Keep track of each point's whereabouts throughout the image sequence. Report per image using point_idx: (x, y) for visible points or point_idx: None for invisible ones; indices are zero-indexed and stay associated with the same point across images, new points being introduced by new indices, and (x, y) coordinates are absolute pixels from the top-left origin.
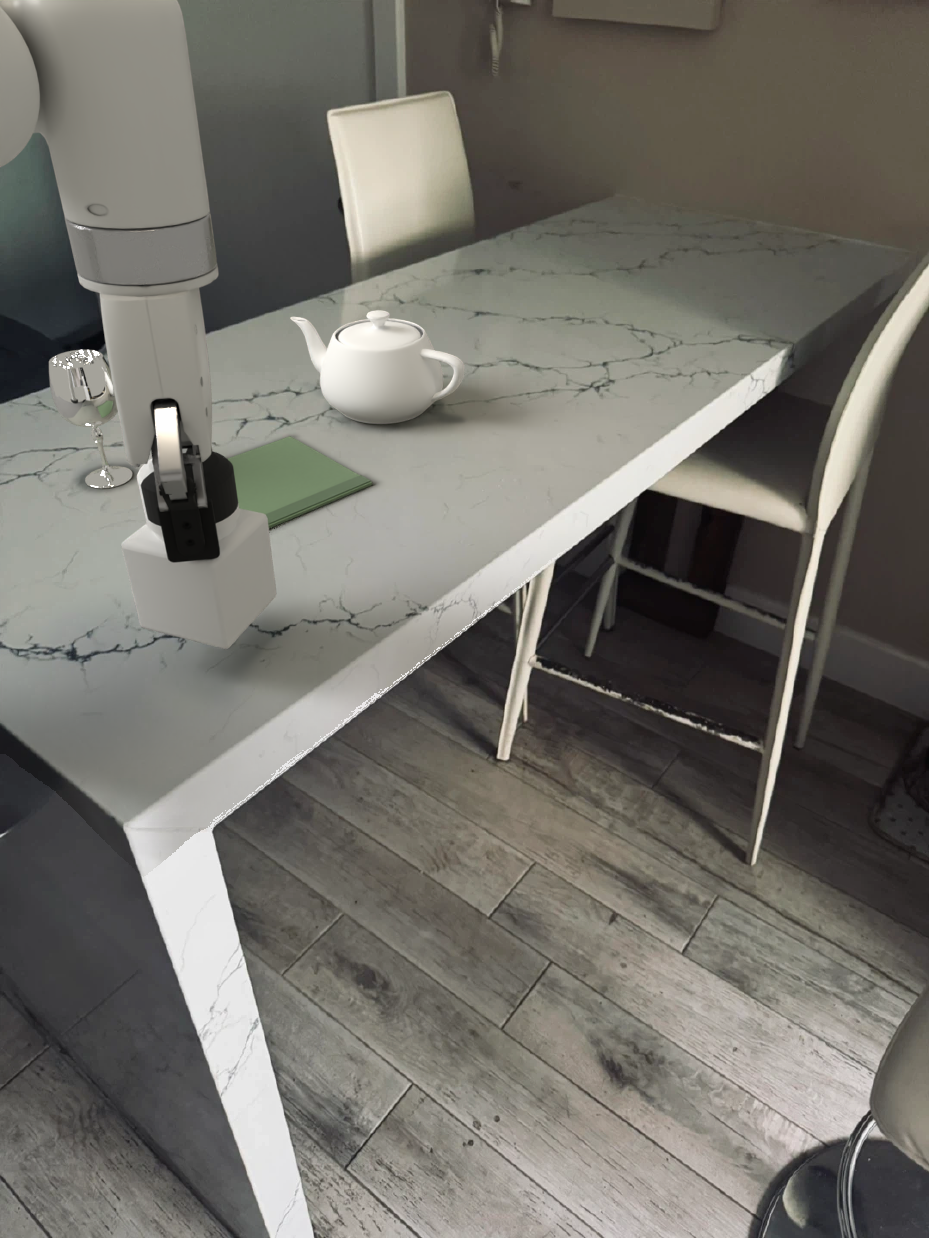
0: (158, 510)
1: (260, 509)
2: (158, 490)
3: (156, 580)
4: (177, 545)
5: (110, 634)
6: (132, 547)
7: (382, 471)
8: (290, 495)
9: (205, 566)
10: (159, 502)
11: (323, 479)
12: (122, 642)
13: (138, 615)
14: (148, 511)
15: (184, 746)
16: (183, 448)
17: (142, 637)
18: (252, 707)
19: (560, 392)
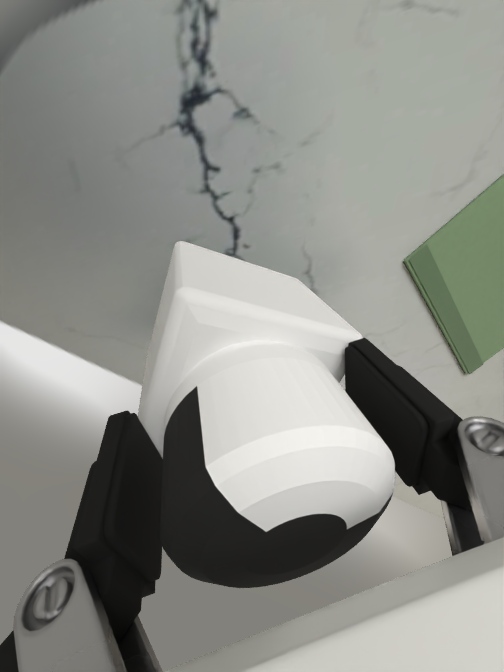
0: (78, 537)
1: (461, 281)
2: (22, 665)
3: (160, 325)
4: (89, 476)
5: (240, 149)
6: (170, 319)
7: (483, 376)
8: (475, 307)
9: None
10: (18, 623)
11: (491, 332)
12: (223, 174)
13: (175, 247)
14: (189, 413)
15: (50, 306)
16: (420, 454)
17: (234, 200)
18: (125, 353)
19: None
